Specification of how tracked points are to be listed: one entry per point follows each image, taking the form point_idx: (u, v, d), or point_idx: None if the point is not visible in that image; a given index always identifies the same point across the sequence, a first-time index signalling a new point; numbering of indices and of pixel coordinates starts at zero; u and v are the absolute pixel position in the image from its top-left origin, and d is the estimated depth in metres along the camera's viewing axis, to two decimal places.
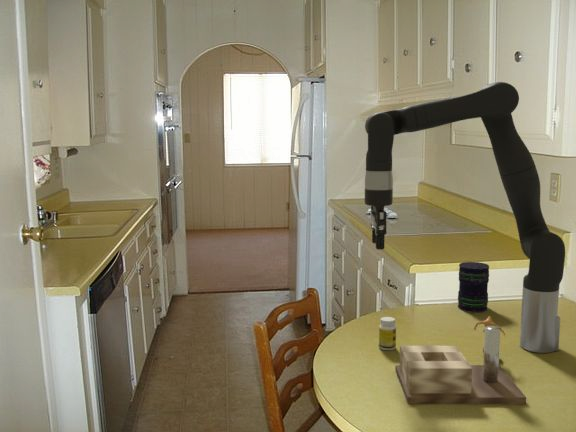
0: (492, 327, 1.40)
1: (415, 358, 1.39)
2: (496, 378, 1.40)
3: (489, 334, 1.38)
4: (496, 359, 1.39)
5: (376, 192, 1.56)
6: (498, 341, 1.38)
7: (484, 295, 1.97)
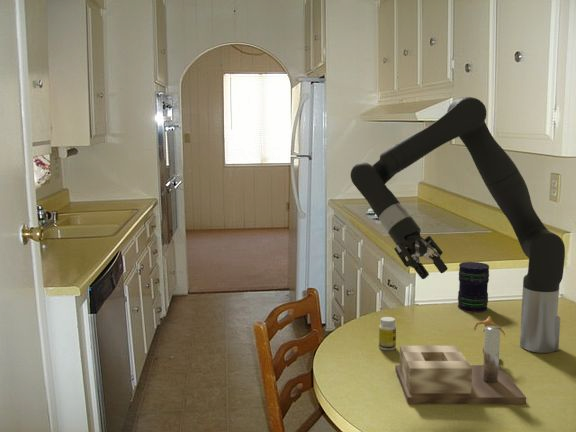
0: (492, 327, 1.40)
1: (415, 358, 1.39)
2: (496, 378, 1.40)
3: (489, 334, 1.38)
4: (496, 359, 1.39)
5: (391, 231, 1.54)
6: (498, 341, 1.38)
7: (484, 295, 1.97)
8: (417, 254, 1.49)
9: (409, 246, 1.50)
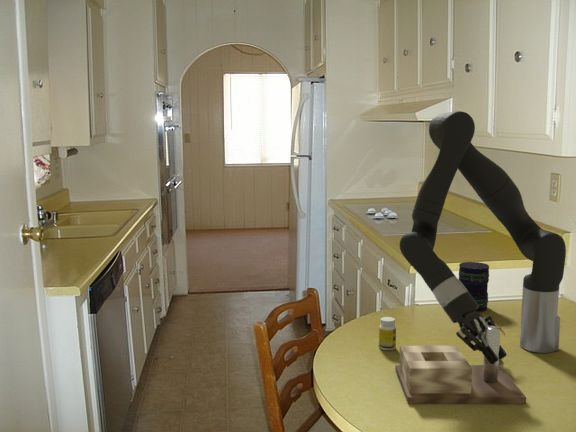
0: (492, 327, 1.40)
1: (415, 358, 1.39)
2: (496, 378, 1.40)
3: (489, 334, 1.38)
4: None
5: (446, 308, 1.44)
6: (498, 341, 1.38)
7: (484, 295, 1.97)
8: (482, 336, 1.39)
9: (468, 326, 1.40)
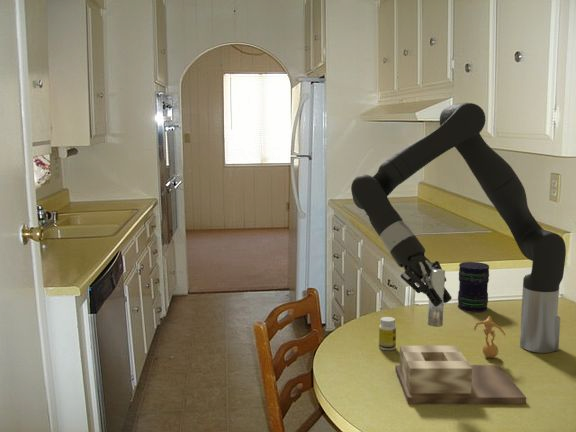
0: (437, 270, 1.38)
1: (415, 358, 1.39)
2: (440, 321, 1.38)
3: (434, 276, 1.36)
4: None
5: (393, 251, 1.42)
6: (442, 284, 1.37)
7: (484, 295, 1.97)
8: (427, 278, 1.37)
9: (413, 268, 1.38)
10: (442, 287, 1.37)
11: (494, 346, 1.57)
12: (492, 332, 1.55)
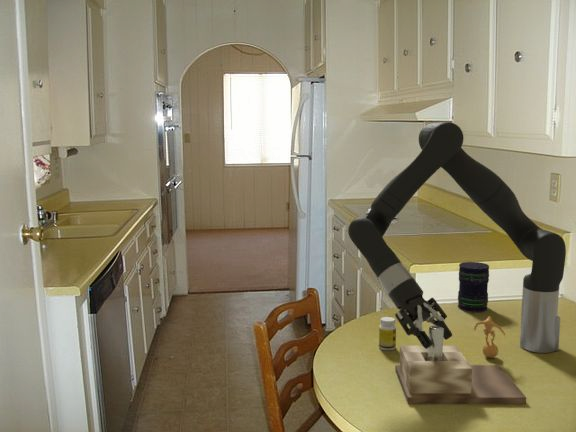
0: (436, 327, 1.40)
1: (415, 358, 1.39)
2: None
3: (433, 334, 1.38)
4: (438, 359, 1.39)
5: (391, 294, 1.43)
6: (441, 342, 1.38)
7: (484, 295, 1.97)
8: (420, 321, 1.38)
9: (411, 311, 1.40)
10: (441, 345, 1.39)
11: (494, 346, 1.57)
12: (492, 332, 1.55)
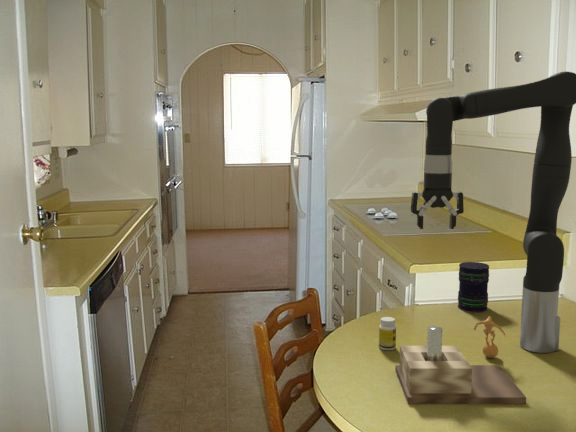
0: (435, 327, 1.40)
1: (415, 358, 1.39)
2: None
3: (431, 334, 1.39)
4: (438, 359, 1.39)
5: None
6: (440, 341, 1.39)
7: (484, 295, 1.97)
8: (424, 208, 1.64)
9: (424, 197, 1.64)
10: (439, 344, 1.39)
11: (494, 346, 1.57)
12: (492, 332, 1.55)
